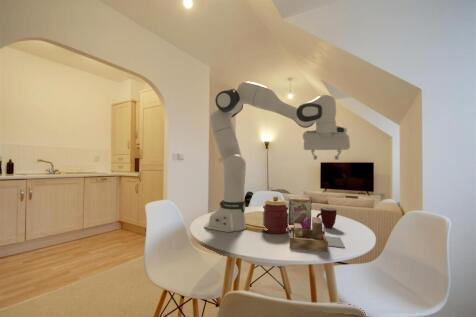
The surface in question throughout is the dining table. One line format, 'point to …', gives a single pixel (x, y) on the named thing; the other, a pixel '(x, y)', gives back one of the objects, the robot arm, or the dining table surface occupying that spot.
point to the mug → (328, 217)
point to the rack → (308, 241)
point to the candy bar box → (300, 212)
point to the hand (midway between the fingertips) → (325, 159)
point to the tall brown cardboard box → (316, 228)
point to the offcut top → (297, 229)
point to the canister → (275, 216)
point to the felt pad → (335, 242)
